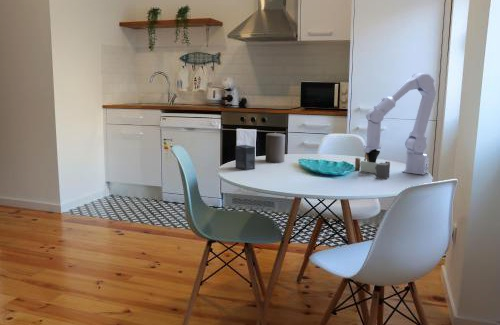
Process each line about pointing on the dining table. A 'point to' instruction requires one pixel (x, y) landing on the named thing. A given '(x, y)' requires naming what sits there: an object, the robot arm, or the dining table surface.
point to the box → (245, 157)
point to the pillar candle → (275, 147)
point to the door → (368, 166)
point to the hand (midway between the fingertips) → (372, 166)
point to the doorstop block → (382, 170)
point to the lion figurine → (366, 157)
